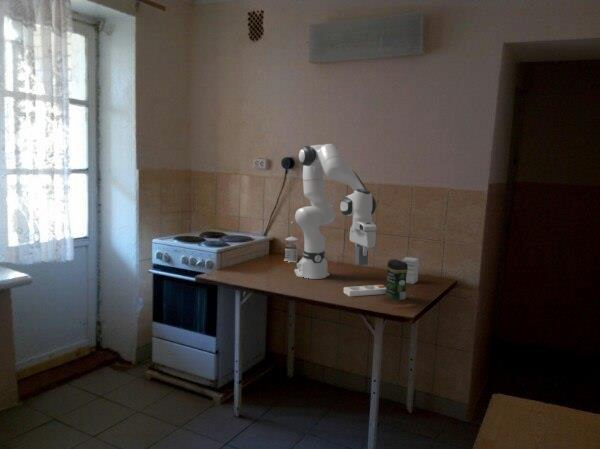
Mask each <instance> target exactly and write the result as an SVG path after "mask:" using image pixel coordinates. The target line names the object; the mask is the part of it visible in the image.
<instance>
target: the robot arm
mask: <svg viewBox="0 0 600 449" xmlns="http://www.w3.org/2000/svg"><path fill="white" fill-rule="evenodd" d="M297 156H298V161H299V163H300V164H301V165H302V166H303V167H302V168H303V169H302V185H303V186H302V188H303V196H304V197H305V198H306V199H307V200H308V201H309V202H310V205H311V206H310V205H309V206H307V205H306V206H303V207H300V208H298V209H297V210H296V211H295V215H294V220H295V222H296V224H297V226H299V227H300V229H301V230H302V233H303V238H304V239H303V240H304V244H303V245H304V248H303V251H302V257H301V258H300V260H299V261H298V262H296V268H294V274H295V276H296V277H297V276H298V277H297V278H303V277H304V279H308V278H309V280H318V279H319V280H320V279H325V278H327V277H329V276H330V273H329V272H328V260H327V259H326V258H325V257H326V251H325V248H326V247H325V246H326V244H325V243H326V240H325V238H326V237H325V236H324V235H323V234H322V233H321V232H320V228H319V227H320V226H327V225H328V224H331V223H333V222H334V220H335V219H336V211H335V210H334V208H333V207H332V206H331V205H330V204H329V202H328V200H327V196H326V194H325V193H326V192H325V186H324V185H325V184H324V175H323V174H325V175H326V177H327V178H328V179H330V180H332V181H334V182H339V183H342V184H345V185H347V186H349V187H350V189H352V191H353V192H352V193H351V194H347V195H345V196H343V197H342V198H341V199H340V202H339V210H340V212H341V214H343V215H344V216H347V217H352V225H351V226H350V229H349V242H350V243H353V244H354V245H355V246H363V251H362V255H363V256H366V255H367V250H368V251H369V248H370V249H371V248H375V246H376V240H377V233H376V231H377V230H378V229H377V228H378V227H377V225H376V224H375V223H374V222H373V214H374V213H375V211H376V209H377V208H378V207H377V201H376V198H375V197H374V196H373V194H372V192H371V191H370V190H368V189H367V188H366V186H365V185H364V183H363V182H362V179H361V178H360V177H359V175H358V174H357V173H356V172H355V171H354V170H353V169H352V168H351V167H350V166H349V165H348V164H347V163H346V162H345V160H344V158H343V156H342V154H341V152H340V151H339V149H338V148H337V147H336V146H335V145H334V144H333V143H325V144H313V145H304V146H302V147H301V148H300V149H299V151H298V155H297ZM323 172H324V173H323Z"/></svg>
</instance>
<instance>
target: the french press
mask: <svg viewBox="0 0 600 449" xmlns="http://www.w3.org/2000/svg"><path fill="white" fill-rule="evenodd" d="M294 223H295V222H294V221H290V224H294ZM284 240H285V241H287V242H291V243H290V244H286V245H285V248H284V252H285V254H284V259H283V260H284V261H288V262H287V263H290V262H294V263H298V262H299V261H298V260H299V259H298V254H299V253H300V251H299V247H298V246H300V245H299V243H298V242H297V241H299V239H298V237H294V236H293V235H291V236H288V237H286V238H285V239H284ZM293 242H294V244H293ZM284 261H283V262H284ZM297 261H298V262H297Z"/></svg>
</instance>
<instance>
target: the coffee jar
mask: <svg viewBox="0 0 600 449" xmlns="http://www.w3.org/2000/svg"><path fill="white" fill-rule="evenodd" d="M386 268H387V275H386V277H387V280H386V286H385V287H386V294H385V296H386V297H387V298H389V299H392V300H397V301H399V300H400V301H401V300H406V299H407V283H406V275H407V270H408V265H407V263H405V262H402V260H399V259H397V258H395V259H389V260H388V261H387V266H386Z"/></svg>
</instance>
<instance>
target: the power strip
mask: <svg viewBox="0 0 600 449" xmlns="http://www.w3.org/2000/svg"><path fill="white" fill-rule="evenodd" d="M386 287H387V286H385V285H384V284H375V285H360V286H344V287H343V293H344V294H345V295H347V296H348V297H361V296H362V297H363V296H377V295H386Z"/></svg>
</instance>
